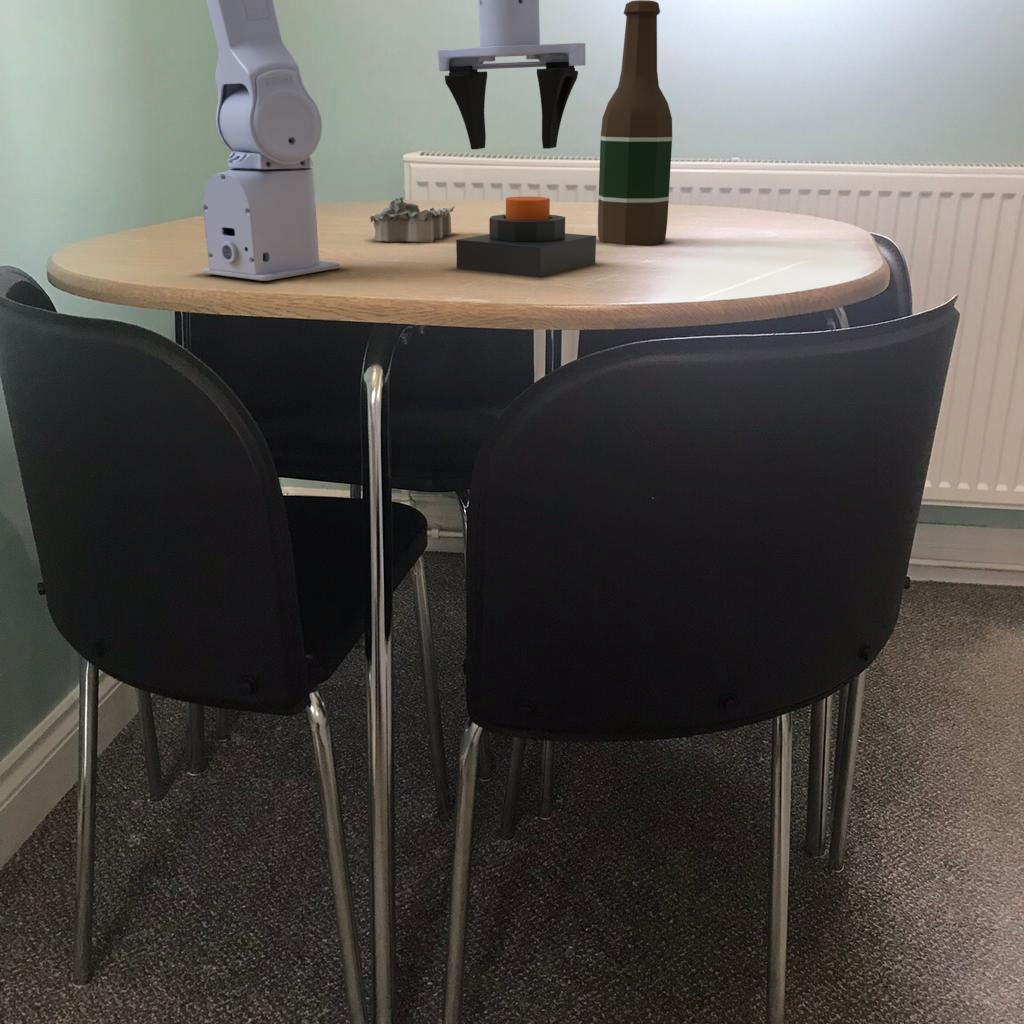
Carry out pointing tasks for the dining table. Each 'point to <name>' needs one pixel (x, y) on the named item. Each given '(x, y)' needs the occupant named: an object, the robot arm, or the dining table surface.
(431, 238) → the egg carton
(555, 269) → the button base
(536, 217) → the switch
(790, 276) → the dining table surface
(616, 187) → the beer bottle
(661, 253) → the dining table surface
